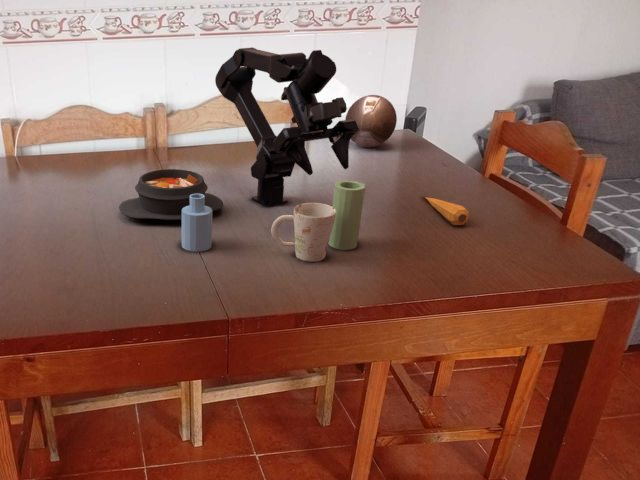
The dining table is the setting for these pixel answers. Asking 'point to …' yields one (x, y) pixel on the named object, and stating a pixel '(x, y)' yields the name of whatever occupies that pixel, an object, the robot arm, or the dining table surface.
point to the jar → (347, 214)
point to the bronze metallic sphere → (372, 120)
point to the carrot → (450, 211)
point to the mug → (309, 230)
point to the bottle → (197, 225)
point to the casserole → (167, 195)
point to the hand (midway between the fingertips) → (329, 171)
